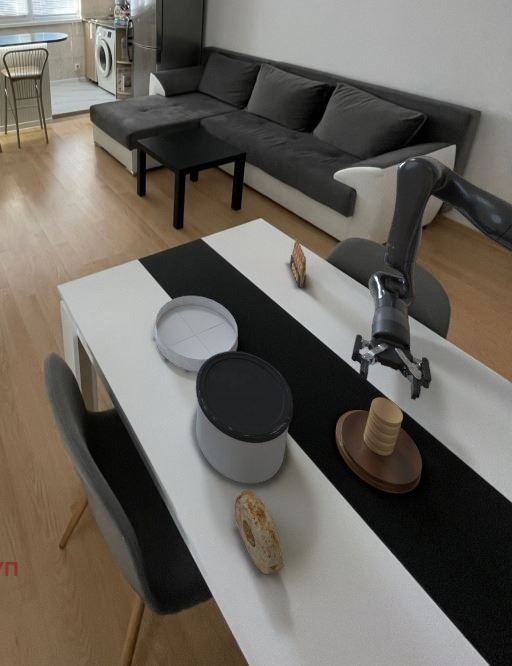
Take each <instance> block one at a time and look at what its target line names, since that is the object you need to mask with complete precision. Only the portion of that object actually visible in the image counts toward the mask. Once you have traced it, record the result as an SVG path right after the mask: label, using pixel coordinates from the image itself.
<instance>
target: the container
mask: <svg viewBox="0 0 512 666" xmlns="http://www.w3.org/2000/svg"><path fill="white" fill-rule="evenodd" d="M195 394H196V395H195V396H196V402H197V403H196V424H195V425H196V427H195V429H196V431H195V432H196V438H197V443H198V445H199V449H200V450H201V452H202V454H203V456H204V458H205V459H206V460H207V461H208V463H209V464H210V465H211V467H213V468H214V469H215V470H216V471H217V472H219V473H220V474H221V475H223V476H224V477H225V478H228V479H230V480H233V481H235V482H238V483H243V484H258V483H263V482H266V481H267V480H270V479H271V478H273V476H275V475H276V474H277V472H278V471H279V470H280V469H281V466H282V465H283V461H284V458H285V451H286V447H287V446H286V444H287V440H288V439H287V438H288V431H289V426H290V424H291V422H292V421H291V420H292V418H293V412H294V398H293V394H292V392H291V388H290V386H289V384H288V382H287V381H286V379H285V377H284V376H283V375H282V374H281V373H280V372H279V370H278V369H277V368H276V367H274V365H272V364H271V363H269V362H268V361H266V360H265V359H264V358H262V357H259V356H258V355H254V354H252V353H250V352H245V351H240V350H239V351H238V350H236V351H227V352H222V353H218V354H216V355H214V356H212V357H210V358H209V359H208V360H206V361H205V362H204V364H203V365H202V366H201V368H200V369H199V372H197V375H196V380H195Z"/></svg>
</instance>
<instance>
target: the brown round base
mask: <svg viewBox="0 0 512 666" xmlns="http://www.w3.org/2000/svg"><path fill="white" fill-rule="evenodd" d="M369 412H370V411H368V410H361V409H356V410H355V409H354V410H349V411H347V412H345V413H343V414H342V415H341V416H340V417H339V419H338V420H337V422H336V428H335V443H336V446H337V449H338V452H339V454H340V456H341V458H342V460H343V461H344V462H345V464H346V466H348V468H349V469H350V470H351V471H352V472H353V473H354V474H355V475H356V476H357V477H359V478H360V480H362V481H364V482H365V483H366V484H368V485H369V486H371V487H373V488H375V489H377V490H379V491H383V492H385V493H389V494H397V495H399V494H400V495H401V494H407V493H409V492H412V491H413V490H415V489H416V487H417V486H418V485H419V484H420V481H421V477H422V470H423V461H422V460H423V459H422V455H421V453H420V451H419V448H418V447H417V445H416V443H415V442H414V440H413V438H412V437H411V436H410V435H409V434H408V433H407V431H405V430H404V429H403V428H402V427H401V426H400V430H399V433H398V436H397V440H396V443H395V446H394V450H393V452H392V454H390V455H388V456H383V455H379V454H377V453H375V452H374V451H372V450H371V449H370V448H369V447H368V446H367V444H366V442H365V440H364V432H365V428H366V424H367V420H368V416H369Z"/></svg>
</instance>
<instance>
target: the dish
mask: <svg viewBox="0 0 512 666" xmlns="http://www.w3.org/2000/svg"><path fill="white" fill-rule="evenodd" d="M154 337H155V343H156V345H157V347H158V349H159V351H160V353H161V354H162V355H163V356H164V357H165V359H166V360H168V361H169V362H171V363H172V364H173V365H175V367H179V368H181V369H183V370H185V371H189V372H196V373H198V372H199V369H200V368H201V366H202V365H203V364H204V362H205V361H206V360H208V359H209V358H210V357H212V356H214V355H216V354H218V353H222V352H227V351H237V349H238V345H239V341H238V337H239V335H238V325H237V323H236V319H235V318H234V316H233V315H232V313H231V312H230V311H229V310H228V309H227V308H226V307H225V306H224V305H222V304H221V303H220V302H219V303H218V302H217V301H215V300H214V299H210V298H207V297H204V296H200V295H199V296H198V295H182V296H179V297H175V298H172V299H171V300H169V301H168V302H166V303H165V304H164V305H163V306H162V307H161V308H160V309H159V311H158V312H157V315H156V317H155V328H154Z"/></svg>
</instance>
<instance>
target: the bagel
mask: <svg viewBox="0 0 512 666" xmlns="http://www.w3.org/2000/svg"><path fill="white" fill-rule="evenodd" d="M234 502H235V503H234V511H233V513H234V518H235V522H236V525H237V528H238V531H239V534H240V537H241V539H242V542H243V543H244V546H245V548H246V550H247V552H248V554H249V556H250V558H251V560H252V561H253V563H254V565H255V566H256V568H257V569H258V570H259V571H260V573H262V574H265V575H272V574H276V573H278V572H280V571H281V570H283V569H284V567H285V564H284V560H283V559H284V558H283V556H282V554H281V542H280V537H279V534H278V532H277V528H276V525H275V523H274V521H273V520H274V519H273V517H272V516H271V513H270V511H269V510H268V509H267V507H266V506H265V504H264V503H263V502H262V500H261V499H260V497H258V495H257V494H256V493H255V492H254V491H252V490H250V489H246V490H244V491H242V492H241V493H240V494H239V495H237V497H236V499H235V501H234Z"/></svg>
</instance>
